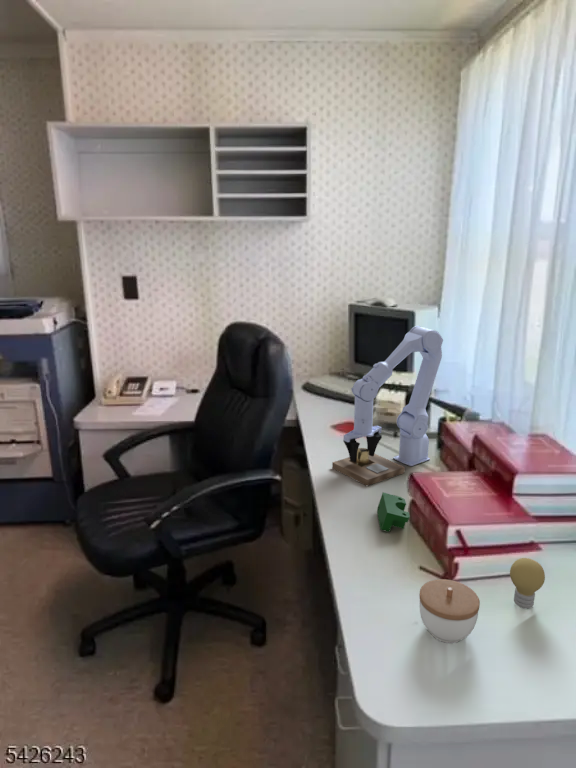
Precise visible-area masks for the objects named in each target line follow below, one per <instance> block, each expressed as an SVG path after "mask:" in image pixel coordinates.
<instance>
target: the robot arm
mask: <svg viewBox="0 0 576 768" xmlns="http://www.w3.org/2000/svg"><path fill="white" fill-rule="evenodd" d="M443 342H444V339H443V337H442V335H441V334H440V333H439V331H438V330H435V329H430V328H427V327H423V326H420V325H415V326H413V327H412V328H410V329H409V331H408V332H407V333H406V334H405V335H404V338H403V339H402V341H401V342H400V343H399V344H398V345H397V347H396V348H395V349H394V350H393V351H392V352H391V353H390V355H389V356H388V357H387V358H386V359H385V360H384V361H378V362H377V363H374V364H373V365H372V368H371V369H370V370H369V371H368V372H367V373H366V374H365V375H363V376H362V378H360V379H357V380H356V381H355V382H354V384H353V386H352V387H351V392H352V394H353V396H354V411H353V415H354V416H353V418H354V419H353V430H351V431H349V432H347V433H345V434H343V443H344V445H345V447H346V449H347V451H348V456H349V457H350V460H351V461H353V462H356V460H357V451H358V448H360V444H361V443H360V442H358V441H357V439H360V438H363V437H364V438H365V437H366V444H367V445H366V446H367V447H366V449H368V450H369V455H370V456H374V454H376V453H375V452H376V449H377V447H378V445H379V442H380V441H381V440H382V438H383V437H382V434H381V433H382V430H383V429H382V426H379V425H374V426H373V420H374V418H373V415H374V414H373V413H374V399H375V398H377V395H378V392H379V390H380V388H381V386H383V385H385V383H386V382H387V381H388V379H390V377H392V376H393V370H394V369H395V368H396V366H397V365H399V364H400V363H401V362H402V361H403V360H405V359H406V358H407V357H408V356H409V355H410V354H411V353H418V352H419V354H420V355H421V356H422V357H421V358H422V361H421V364H420V367H419V369H418V372H417V373H418V374H417V376H416V379H415V383H414V386H413V389H412V392H411V396H410V399H409V402H408V404H406V405H405V406H403V407H402V410H401V412H400V414H399V415H398V416H397V418H396V425H397V428H399V449H398V455H395V456H393V457H392V459H394V460H396V461H398V462H399V463H402V464H404V465H407V466H408V467H413V466H416V465H419V464H422V463H424V462H427V461H429V460H430V459H431V458H430V457H429V447H430V446H429V445H430V440H429V437H428V436H427V431H428V428H429V427H428V421H429V415H428V413H427V410H426V408H427V406H428V402H429V398H430V396H431V392H432V389H433V387H434V383H435V381H436V377H437V373H438V371H439V367H440V364H441V361H442V357H443V352H442V345H443ZM421 462H422V463H421Z"/></svg>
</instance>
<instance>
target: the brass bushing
mask: <svg viewBox="0 0 576 768" xmlns="http://www.w3.org/2000/svg"><path fill="white" fill-rule="evenodd" d="M356 465H358V466H360V467H363V466H366V465H369V450H368V449H367V447H358V451H357V460H356Z"/></svg>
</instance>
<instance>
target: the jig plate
mask: <svg viewBox="0 0 576 768" xmlns="http://www.w3.org/2000/svg"><path fill="white" fill-rule="evenodd" d="M331 465H332V466H331V468H332V469H333V470H335V471H336V472H337V471H338V472H339V473H341V474H343V475H344V476H347V477H349V478H350V477H351V479H352V478H353V480H354V479H355V481H356V480H357V482H359V483H360V484H362V485H364V486H366V487H369V486H372V485H374V484H377V483H380V482H382V481H386V480H388V479H391V478H394V477H396V476H399V475H403V474H405V472H406V471H405V468H406V467H405V466H404V465H402V464H399V463H396V462H394V461H392V460H390V459H387V458H386V457H383V456H381V455H379V454H376V453H374V456H370V455H369V465H366V466H363V467H360V466H358V465H356V462H353V461H351V460H350V456H349V457H346V458H343V459H339V460H335V461H332V463H331Z"/></svg>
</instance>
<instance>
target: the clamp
mask: <svg viewBox="0 0 576 768" xmlns="http://www.w3.org/2000/svg"><path fill="white" fill-rule="evenodd" d="M406 505H407V501H406V499H405V498H403V497H402V496H398V495H395V494H390V493H386V492H383V491H382V493H381V497H380V500H379V502H378V505H377V511H376V513H377V518H378V525H379V529H380V531H382V532H383V531H384V532H388V533H390V531H391V528H392V527H396V528H399V529H405V526H406V523H408V522H409V520H410V517H411V515H410V512H409V511H405V509H406V507H407V506H406Z"/></svg>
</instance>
